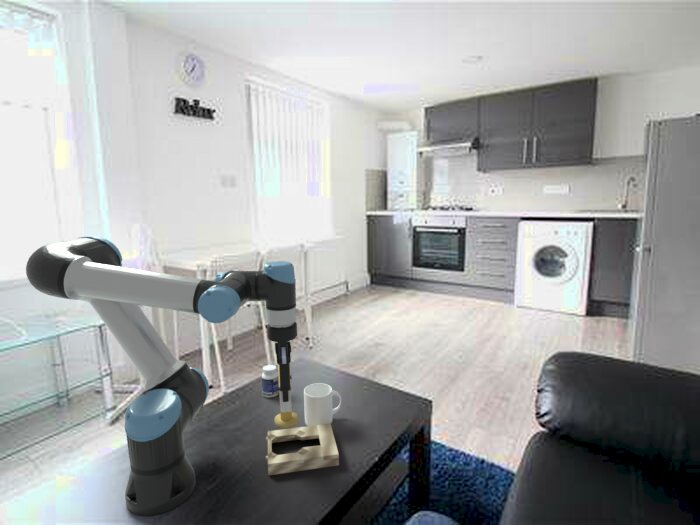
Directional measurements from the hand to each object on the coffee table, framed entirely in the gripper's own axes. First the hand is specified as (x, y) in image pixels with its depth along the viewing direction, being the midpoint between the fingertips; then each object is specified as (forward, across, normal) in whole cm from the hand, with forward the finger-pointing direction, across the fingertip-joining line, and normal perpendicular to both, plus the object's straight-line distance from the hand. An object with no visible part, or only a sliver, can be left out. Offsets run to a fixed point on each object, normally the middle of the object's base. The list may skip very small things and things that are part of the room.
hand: (285, 407), depth 106 cm
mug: (+14, +14, -12) cm, 23 cm away
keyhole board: (+14, 0, -4) cm, 15 cm away
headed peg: (+4, 0, 0) cm, 4 cm away
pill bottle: (+14, +34, +4) cm, 37 cm away
